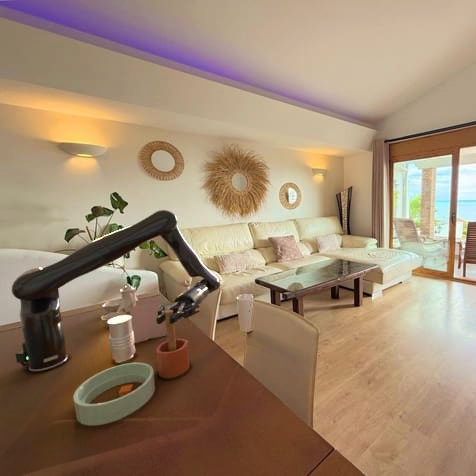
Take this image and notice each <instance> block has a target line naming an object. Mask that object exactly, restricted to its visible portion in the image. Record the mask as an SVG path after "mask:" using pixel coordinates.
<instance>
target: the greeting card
mask: <svg viewBox="0 0 476 476" xmlns="http://www.w3.org/2000/svg"><path fill="white" fill-rule="evenodd" d="M160 305H164V300H138V301H136V306H133V307H129V312H130V316H131V317H132V318H131V324H132V330H133V332H134V333H133V334H134V341H135V342H134V344H138V343H141V342H145V341H148V340H150V339H157V338H161V337H166V336H167V327H166V320H165V321H163V322H162V323H161V324H157V321H156V318H157V317H158V309H159V306H160ZM164 306H165V305H164Z"/></svg>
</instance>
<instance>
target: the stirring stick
mask: <svg viewBox="0 0 476 476" xmlns="http://www.w3.org/2000/svg"><path fill="white" fill-rule="evenodd" d="M172 315H173V310H167V311H165V316H166V320H165V325H166V336H167V341H168V348H169V352H171V351H175V350H177V349H176V339H177V338H176V327H175V323H174V324H170V317H171V316H172Z"/></svg>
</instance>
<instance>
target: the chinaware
mask: <svg viewBox="0 0 476 476" xmlns="http://www.w3.org/2000/svg"><path fill="white" fill-rule="evenodd" d="M119 292H120V293H121V294H120V295H121V300H120V299H115V300H112V301H106V302H104V303H103V304H101V305H100V306H101V308H103V309H104V311H105V312H106V313H107V314H105V315H101V316H100V320H101V321H102V322H103V324H104V325H105V326H107V327H109V324H108V323H107V322H108V320H110V319H112V318H114V317H117V316H122V315H130V312H129V307H133V306H136V301H139V299H138V298H137V293H136V292H137V287H136V286H132V285H130V284H129V283H126V284H125V285H124V287H123V288H121V289H119Z"/></svg>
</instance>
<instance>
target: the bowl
mask: <svg viewBox="0 0 476 476" xmlns="http://www.w3.org/2000/svg"><path fill="white" fill-rule="evenodd" d="M129 383H139V384H141V385H139V386H138V387H137V388H135V389H133V390H132V392H131V393H129V394H127V395H124V396H120V397H118V398H115V399H111V400H109V401H104V402H98V403H92V402H93V401H94V400H95V399H96V398H97V397H99V396H100V395H101V394H103V393H104V392H107V391H108V390H110V389H112V388H114V387H117V386H121V385H124V384H129ZM155 391H156V383H155V372H154V368H153V367H152V365H150V364H148V363H145V362H127V363H123V364H119V365H115V366H112V367H109V368H107V369H104V370H102V371H100V372H97V373H96V374H93V375H92V376H91V377H89V378H88V379H86V380H85V381H84V382H83V383H81V384H80V385H79V386H78V387H77V389H76V390H75V391H74V392H73V393H74V394H73V396H72V398H73V399H72V401H73V405H74V412H75V417H76V421H78V422H79V423H80V424H81V425H85V426H101V425H107V424H110V423H113V422H116V421H119V420H122V419H123V418H125V417H127V416H129V415H132V414H133V413H134V412H135V411H137V410H139V409H140V408H141V407H143V406H144V405H145V404H146V403H148V401H150V399H151V398H152V397H153V395H154V394H155Z"/></svg>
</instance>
